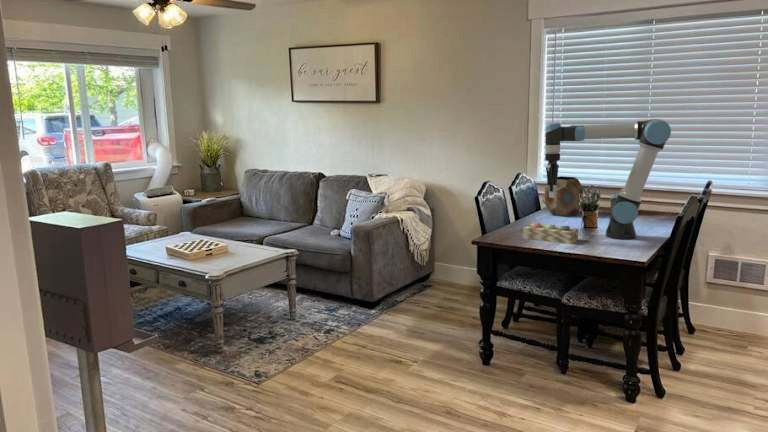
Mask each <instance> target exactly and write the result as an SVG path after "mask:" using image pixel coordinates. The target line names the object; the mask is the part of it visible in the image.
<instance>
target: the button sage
mask: <svg viewBox="0 0 768 432" xmlns="http://www.w3.org/2000/svg"><path fill="white" fill-rule="evenodd" d="M545 225H546V229H553V230H554V229H555V226H556V224H550V223H549V224H545Z"/></svg>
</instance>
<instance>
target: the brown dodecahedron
mask: <svg viewBox="0 0 768 432" xmlns="http://www.w3.org/2000/svg"><path fill="white" fill-rule="evenodd" d="M556 184H557V185H555V197H554V198H551V197H549V185H547V184H546V186H545V188H544V195H545V197H544V203H543V204H544V205H545V207H546V209H547V210H548V211H549V213H550V214H551V216H556V215H557V216H559V217H573V216H577V215H578V213H579V212H581V209H580V206H579V202H580V200H579V194H580V193H581V194H582V195H583V196H584V187H583V185H582V183H581V182H580V180H579V179H578V178H577V177H575V176H557V183H556ZM572 215H573V216H572Z"/></svg>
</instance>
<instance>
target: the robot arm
mask: <svg viewBox="0 0 768 432" xmlns="http://www.w3.org/2000/svg"><path fill="white" fill-rule="evenodd" d="M671 134H672V130H671V127H670V124H669V123H668V122H667V121H665V120H663V119H658V118H652V119H648V120H637V121H635V122H634V123H613V124H611V123H610V124H609V123H607V124H585V125H584V124H582V125H575V124H572V125H569V126H562V125H561V123H560V122H550V123H547V124H546V125H545V146H544V151H545V154H544V155H545V161H547V166H546V167H545V170H546V171H545V172H546V181H547V183H546V185H549V197H551V198H554V197H555V185H557V184H556V183H557V177H559V176H558V175H559V168H560V165H559V164H558V161H560V160H561V142H582V141H585V140H604V139H605V140H606V139H607V140H608V139H609V140H610V139H611V140H612V139H614V140H615V139H634V140H635V141H637V140H638V144H639V146H640V147H639V150H638V152H637V155H636V157H635V160H634V162H633V165H632V168H631V170H630V172H629V175H628V178H627V181H626V183H625V184H624V187H623V188H624V190H623V192H621V193H619V192H618V193H619V194H618V193H617V194H616V193H615V194H612V195H611V196H610V200H609V201H610V208H609V212H610V213H609V221H608V225H607V228H606V230H605V237H608V238H610V239H616V240H632V239H633V240H634V239H636V237H637V235H636V234H637V232H636V229H635V226H634V221H636V219H637V218H638V215H639V209H640V207H641V204H642V199H641V195H642V192H643V191H644V188H645V186H646V183H647V180H648V178H649V175H650V173H651V170H652V168H653V165H654V163H655V160H656V158H657V156H658V153H659V152H661V151H663V150H664V147H665V146H666V143H667V141H669V139H670V138H671Z"/></svg>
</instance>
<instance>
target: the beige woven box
mask: <svg viewBox="0 0 768 432" xmlns="http://www.w3.org/2000/svg"><path fill="white" fill-rule="evenodd" d="M546 225H547V224H541V227H540V228H534V227H532V223H530V224H528V225H526V226H524V227H522V239H525V240H534V241H543V242H549V243H559V244H567V245H571V244H573V243H574V242H577V241H578V239H579V228H578V227H577V228H574V227H570V231H562V230H561V226H557V225H555V229H554V230H553V229H546Z"/></svg>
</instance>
